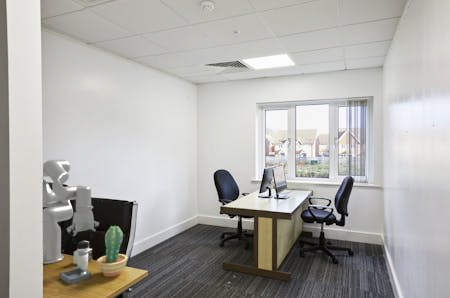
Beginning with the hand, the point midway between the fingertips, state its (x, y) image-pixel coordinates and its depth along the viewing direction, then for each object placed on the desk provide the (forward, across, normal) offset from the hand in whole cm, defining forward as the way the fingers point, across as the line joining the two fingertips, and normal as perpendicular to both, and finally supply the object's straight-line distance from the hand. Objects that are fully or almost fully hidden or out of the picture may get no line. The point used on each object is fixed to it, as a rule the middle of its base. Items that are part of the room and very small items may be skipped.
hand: (83, 240), depth 159 cm
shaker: (+16, 0, -1) cm, 16 cm away
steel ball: (+16, +6, +12) cm, 20 cm away
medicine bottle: (+16, -5, -11) cm, 20 cm away
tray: (+16, +8, +8) cm, 20 cm away
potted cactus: (+16, -7, +17) cm, 25 cm away
